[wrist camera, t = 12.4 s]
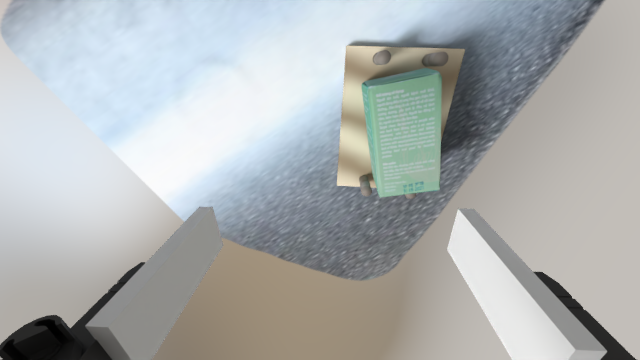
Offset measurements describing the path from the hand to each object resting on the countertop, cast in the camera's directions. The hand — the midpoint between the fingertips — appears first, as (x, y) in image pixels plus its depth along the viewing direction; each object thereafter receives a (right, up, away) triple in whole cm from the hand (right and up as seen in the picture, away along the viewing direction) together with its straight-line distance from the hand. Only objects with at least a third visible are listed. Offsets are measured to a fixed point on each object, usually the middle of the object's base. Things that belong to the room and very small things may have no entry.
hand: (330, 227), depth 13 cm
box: (+9, +10, +19) cm, 24 cm away
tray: (+9, +11, +20) cm, 25 cm away
